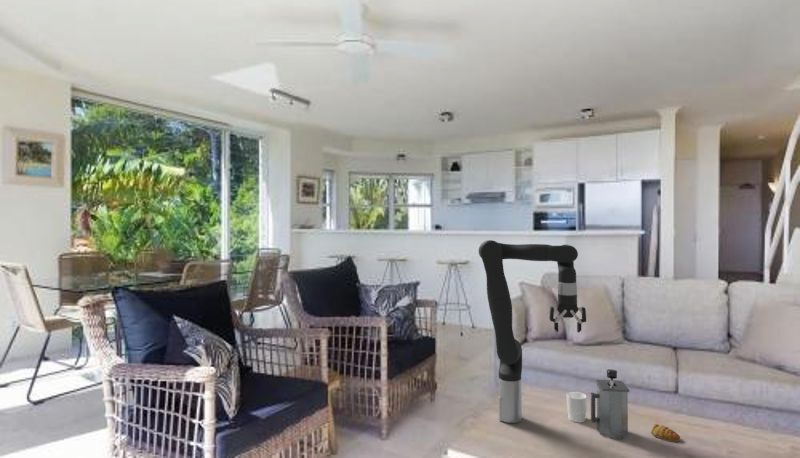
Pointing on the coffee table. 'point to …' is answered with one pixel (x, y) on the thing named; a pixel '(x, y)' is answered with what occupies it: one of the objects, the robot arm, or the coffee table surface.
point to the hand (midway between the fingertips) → (567, 331)
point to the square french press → (611, 409)
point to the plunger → (611, 375)
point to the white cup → (576, 406)
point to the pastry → (664, 433)
